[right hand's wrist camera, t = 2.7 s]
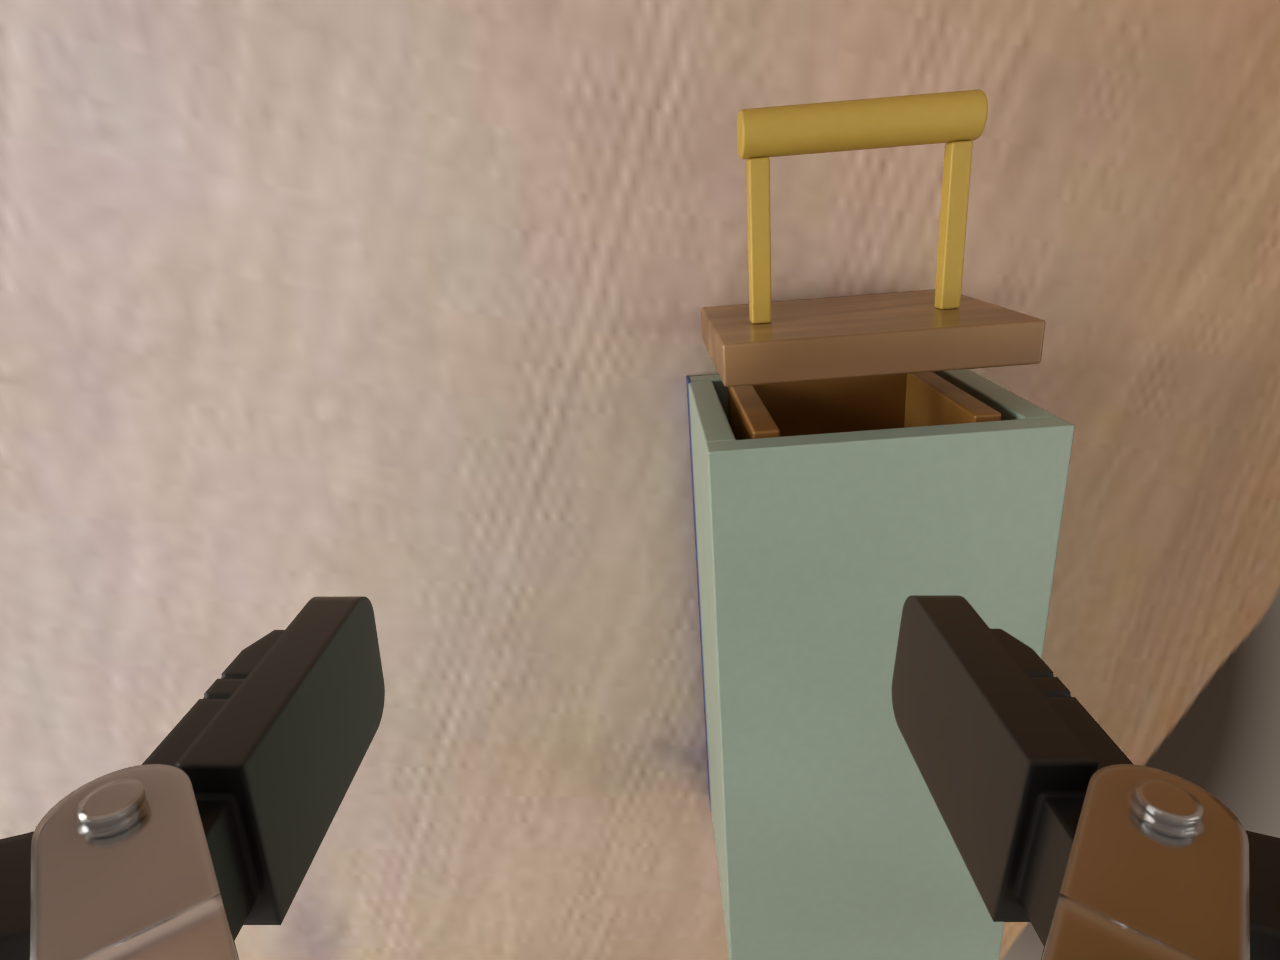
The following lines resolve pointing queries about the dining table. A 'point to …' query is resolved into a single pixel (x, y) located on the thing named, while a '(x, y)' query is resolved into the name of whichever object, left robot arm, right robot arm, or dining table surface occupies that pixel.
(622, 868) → the dining table surface
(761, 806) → the cabinet
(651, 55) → the dining table surface
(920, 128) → the drawer
